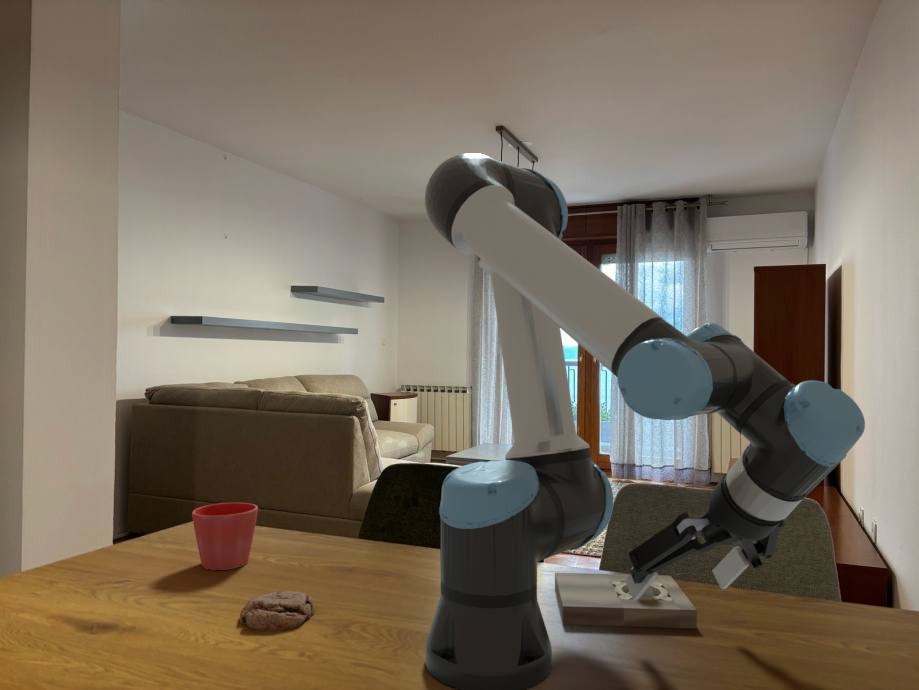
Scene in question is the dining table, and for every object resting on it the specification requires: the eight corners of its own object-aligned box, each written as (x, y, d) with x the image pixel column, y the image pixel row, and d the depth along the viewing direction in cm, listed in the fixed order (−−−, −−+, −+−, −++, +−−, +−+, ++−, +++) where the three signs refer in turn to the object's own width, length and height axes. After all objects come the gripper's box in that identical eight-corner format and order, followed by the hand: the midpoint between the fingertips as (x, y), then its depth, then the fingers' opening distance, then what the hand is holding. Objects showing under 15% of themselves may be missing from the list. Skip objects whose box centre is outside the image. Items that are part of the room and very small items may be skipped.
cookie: (329, 609, 97) (329, 588, 97) (285, 638, 87) (285, 615, 87) (272, 600, 100) (272, 580, 101) (224, 627, 91) (224, 605, 91)
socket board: (696, 628, 90) (696, 610, 90) (562, 624, 91) (563, 606, 91) (670, 591, 104) (670, 575, 104) (554, 588, 105) (554, 572, 105)
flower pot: (194, 557, 120) (194, 503, 120) (257, 552, 124) (257, 500, 124) (188, 576, 110) (189, 517, 110) (257, 570, 113) (258, 513, 114)
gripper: (824, 462, 81) (739, 551, 95) (645, 472, 74) (583, 567, 88) (862, 515, 76) (767, 601, 90) (674, 532, 69) (603, 623, 83)
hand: (676, 584), depth 89 cm, fingers open, 13 cm apart
